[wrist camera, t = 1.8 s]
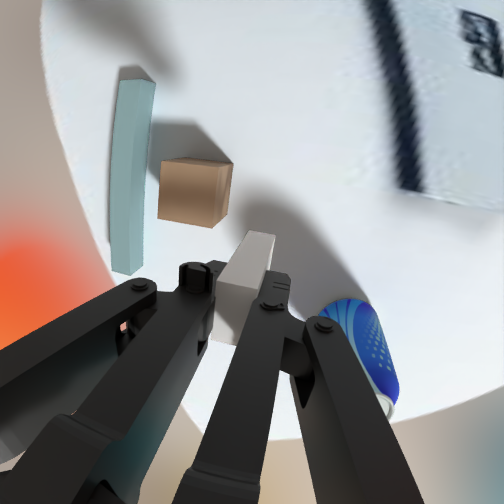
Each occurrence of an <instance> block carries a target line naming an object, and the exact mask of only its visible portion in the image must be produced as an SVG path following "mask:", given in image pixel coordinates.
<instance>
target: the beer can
mask: <svg viewBox="0 0 504 504" xmlns="http://www.w3.org/2000/svg"><path fill="white" fill-rule="evenodd" d="M318 316H325V317H328V318H331V319H333V320H335V321H336V322H338V323H339V324H340V326H341V327H342V329H343V331H344V333H345V334H346V336H347V338H348V340H349V342H350V344H351V346H352V348H353V350H354V352H355V354H356V356H357V358H358V360H359V362H360V364H361V366H362V368H363V370H364V372H365V374H366V376H367V378H368V380H369V382H370V384H371V386H372V388H373V390H374V392H375V394H376V396H377V398H378V400H379V402H380V405H381V407H382V409H383V411H384V413H385V415H386V417H387V419H388V421H389V420H390V419H391V418H392V416H393V413H394V405H395V403H396V401H397V399H398V396H399V383H398V379H397V376H396V372H395V369H394V365H393V362H392V359H391V356H390V352H389V349H388V346H387V343H386V340H385V337H384V334H383V331H382V328H381V325H380V322H379V319H378V316H377V313H376V312H375V310H374V309H373V308H372V307H371V306H370V305H369V304H368V303H366V302H364V301H362V300H358V299H342V300H338V301H335V302H333V303H331V304H329V305H328V306H326V307H325V308H324V309H323V310H322V311H321V312H320V313H319V315H318Z"/></svg>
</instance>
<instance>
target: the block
mask: <svg viewBox="0 0 504 504" xmlns="http://www.w3.org/2000/svg"><path fill="white" fill-rule="evenodd" d="M232 171H233V163H226V162H218V161H211V160H202V159H194V158H177V159H171V160H164V161H161V171H160V184H159V199H158V219H163V220H168V221H174V222H179V223H185V224H190V225H196V226H201V227H207V228H213V227H214V226H215V225H216V224H217V223H218V222H219V221H221V220H222V219H223V218H224V217H225V216H226V215H227V211H228V203H229V195H230V187H231V179H232Z"/></svg>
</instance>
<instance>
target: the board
mask: <svg viewBox="0 0 504 504" xmlns="http://www.w3.org/2000/svg"><path fill="white" fill-rule="evenodd" d="M155 86H156V83H153V82H150V81H146V80H143V79H133V80H120V84H119V91H118V98H117V105H116V114H115V122H114V132H113V144H112V158H111V178H110V246H111V266H112V271H114V272H118V273H122V274H125V275H129V276H131V275H132V274H133V273H134V272H136V271H137V270H138V269H139V268H141V267H142V266H143V219H144V193H145V176H146V163H147V151H148V140H149V131H150V122H151V114H152V106H153V99H154V92H155Z"/></svg>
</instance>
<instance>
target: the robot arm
mask: <svg viewBox="0 0 504 504" xmlns="http://www.w3.org/2000/svg"><path fill="white" fill-rule="evenodd" d="M275 237H276V235H273V234H268V233H262V232H257V231H252V230H249V231H248V233H247V234H246V236H245V237H244V239H243V240H242V242H241V243H240V245H239V246H238V248H237V249H236V251H235V253H234V254H233V256H232V257H231V259H230V260H229V262H228V263H226V262H221V261H216V260H213V261H211V262H208V263H206V264H204V263H200V262H187V263H183V264H182V265H180V266H179V286H178V287H177V288H176V289H175V290H174V291H173V292H162V291H157V285H156V283H155V282H153V281H152V280H149V279H146V278H134V279H131V280H128V281H126V282H124V283H122V284H120V285H118V286H116V287H114V288H112V289H110V290H109V291H107V292H105V293H103V294H101V295H99V296H97V297H95V298H93V299H92V300H90V301H88V302H86V303H84V304H82V305H80V306H79V307H77V308H75V309H73V310H71V311H69V312H68V313H66V314H64V315H62V316H60V317H58V318H56V319H55V320H53V321H51V322H49V323H47V324H46V325H44V326H42V327H41V328H38V329H37V330H35V331H33V332H31V333H29V334H28V335H26V336H24V337H22V338H21V339H19V340H17V341H15V342H14V343H12V344H10V345H9V346H7V347H5V348H3V349H2V350H0V464H2V463H4V462H7V461H8V460H11V459H13V458H15V457H16V456H18V455H19V454H20V453H22V452H24V451H25V450H26V451H25V453H24V454H23V455H22V457H21V458H20V459H19V460H18V462H17V463H16V465H15V466H14V467H13V468H12V470H8V471H3V472H0V504H137V503H138V500H139V495H140V487H141V484H142V481H143V479H144V477H145V475H146V473H147V471H148V469H149V467H150V464H151V463H152V461H153V459H154V456H155V454H156V452H157V450H158V448H159V446H160V444H161V442H162V440H163V438H164V436H165V434H166V432H167V430H168V427H169V425H170V423H171V421H172V419H173V417H174V415H175V413H176V411H177V409H178V407H179V405H180V403H181V401H182V399H183V396H184V394H185V392H186V390H187V388H188V386H189V384H190V382H191V380H192V378H193V376H194V374H195V372H196V370H197V367H198V365H199V363H200V361H201V359H202V357H203V355H204V353H205V351H206V349H207V345H208V336H209V334H210V333H211V340H214V341H218V342H222V343H226V344H230V345H235V346H237V347H236V349H235V352H234V355H233V358H232V360H231V363H230V366H229V369H228V371H227V374H226V377H225V379H224V382H223V385H222V388H221V390H220V393H219V396H218V398H217V401H216V404H215V406H214V409H213V412H212V414H211V417H210V420H209V422H208V425H207V428H206V430H205V433H204V436H203V438H202V441H201V444H200V446H199V449H198V452H197V454H196V457H195V459H194V462H193V464H192V466H191V467H190V468H188V469H187V470H186V472H185V473H184V475H183V478H182V480H181V482H180V484H179V487H178V489H177V492H176V494H175V497H174V500H173V502H172V504H258V500H259V494H260V476H261V471H262V466H263V461H264V456H265V451H266V446H267V441H268V435H269V430H270V424H271V418H272V413H273V407H274V401H275V395H276V389H277V383H278V377H279V370H281V371H283V372H286V373H288V374H290V384H291V388H292V393H293V397H294V402H295V406H296V411H297V415H298V420H299V424H300V429H301V433H302V438H303V442H304V447H305V451H306V455H307V460H308V464H309V469H310V474H311V478H312V483H313V488H314V492H315V497H316V502H317V504H424V501H423V499H422V497H421V494H420V492H419V489H418V487H417V484H416V482H415V480H414V477H413V475H412V473H411V470H410V468H409V466H408V464H407V461H406V459H405V457H404V454H403V452H402V450H401V448H400V446H399V443H398V441H397V439H396V437H395V435H394V432H393V430H392V428H391V426H390V424H389V421H388V419H387V417H386V415H385V413H384V411H383V409H382V407H381V405H380V402H379V400H378V398H377V396H376V394H375V392H374V390H373V388H372V386H371V384H370V382H369V380H368V378H367V376H366V374H365V372H364V370H363V368H362V366H361V364H360V362H359V360H358V358H357V356H356V354H355V352H354V350H353V348H352V346H351V344H350V342H349V340H348V338H347V336H346V334H345V333H344V331H343V329H342V327H341V326H340V324H339V323H338V322H336V321H335V320H333V319H331V318H328V317H325V316H313V317H310V318H308V319H307V321H306V322H303V321H301V320H299V319H297V318H295V317H294V316H292V315H291V314H290V313H289V311H288V298H289V290H290V283H291V279H290V278H289V276H288V275H287V274H284V273H279V272H274V271H269V270H270V264H271V259H272V253H273V248H274V242H275ZM124 322H126V329H125V330H123V331H121V330H120V325H121V324H123V323H124ZM211 331H212V332H211ZM76 410H77V411H76ZM75 411H76V412H75ZM74 412H75V413H74ZM72 413H74V414H72ZM71 414H72V415H71Z"/></svg>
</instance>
